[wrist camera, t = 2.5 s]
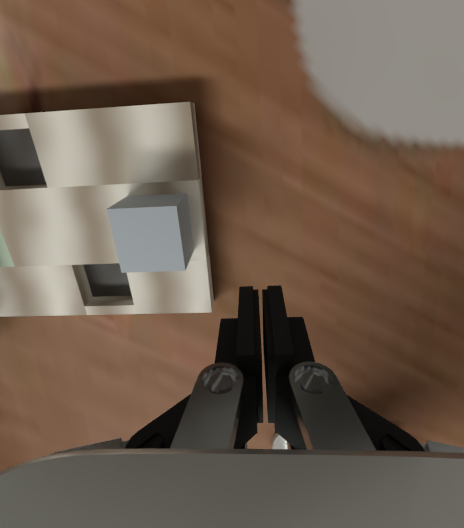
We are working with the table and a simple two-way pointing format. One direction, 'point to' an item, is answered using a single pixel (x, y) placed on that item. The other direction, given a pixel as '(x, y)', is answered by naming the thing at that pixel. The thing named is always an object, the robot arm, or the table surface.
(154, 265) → the block
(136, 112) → the board
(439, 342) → the table surface
